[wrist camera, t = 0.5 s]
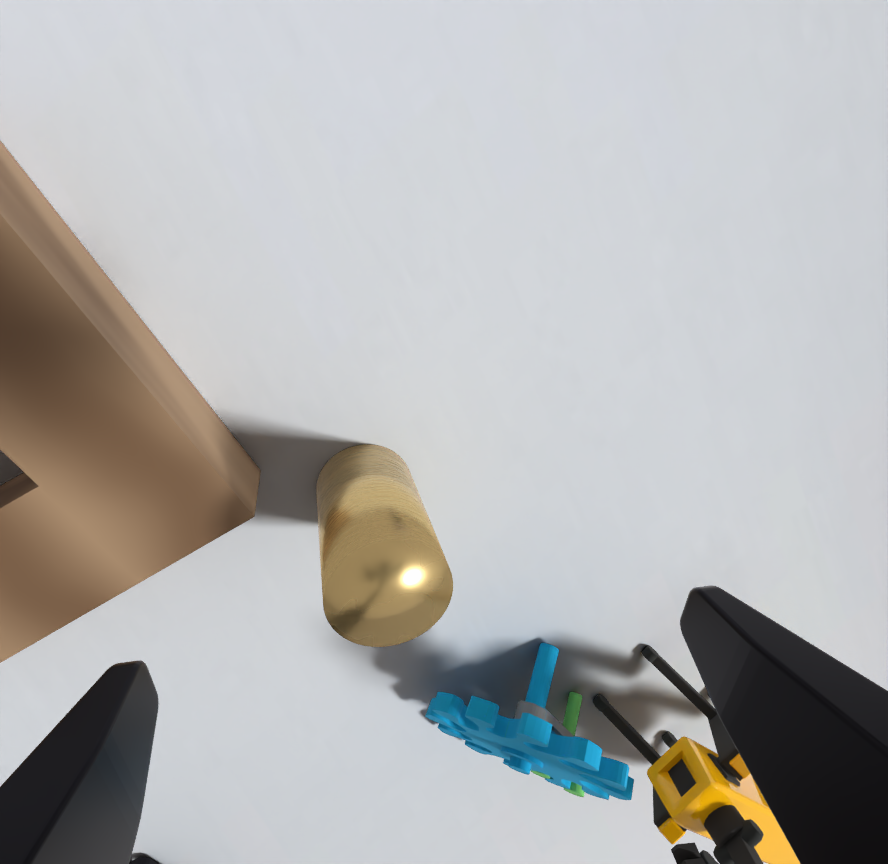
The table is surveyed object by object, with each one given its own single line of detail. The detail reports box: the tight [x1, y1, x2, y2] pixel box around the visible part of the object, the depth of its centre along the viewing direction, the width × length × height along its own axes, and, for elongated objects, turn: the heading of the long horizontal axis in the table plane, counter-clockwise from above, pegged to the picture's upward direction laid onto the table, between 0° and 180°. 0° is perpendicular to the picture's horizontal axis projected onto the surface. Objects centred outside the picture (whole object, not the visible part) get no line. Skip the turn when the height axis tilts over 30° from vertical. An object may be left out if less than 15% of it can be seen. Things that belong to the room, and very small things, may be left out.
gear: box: [425, 643, 634, 800], centre depth 27 cm, size 11×6×10 cm
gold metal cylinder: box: [316, 444, 453, 647], centre depth 20 cm, size 4×4×7 cm
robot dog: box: [593, 645, 800, 864], centre depth 27 cm, size 6×18×13 cm, turn 49°
